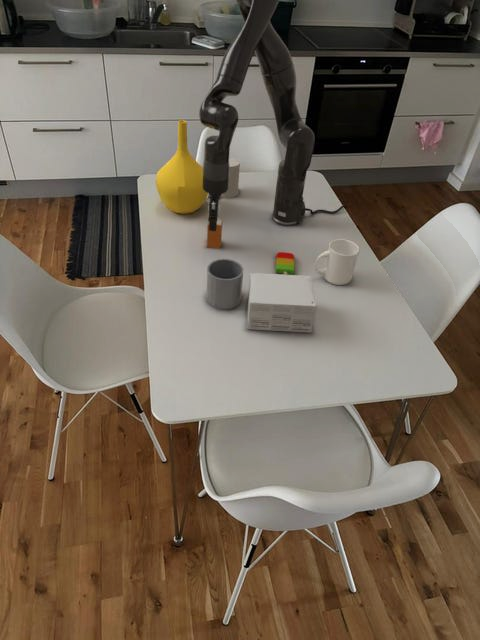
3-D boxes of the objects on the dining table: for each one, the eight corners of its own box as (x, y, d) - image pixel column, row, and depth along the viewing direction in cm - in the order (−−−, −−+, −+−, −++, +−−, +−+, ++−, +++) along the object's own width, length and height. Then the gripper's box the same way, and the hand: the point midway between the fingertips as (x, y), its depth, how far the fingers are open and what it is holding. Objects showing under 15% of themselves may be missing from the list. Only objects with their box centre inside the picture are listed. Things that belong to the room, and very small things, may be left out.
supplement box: (307, 302, 142) (312, 275, 135) (311, 333, 132) (317, 306, 125) (247, 298, 141) (249, 271, 135) (247, 329, 131) (249, 302, 125)
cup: (237, 198, 185) (239, 167, 177) (215, 196, 184) (216, 165, 177) (238, 188, 191) (240, 157, 183) (216, 186, 191) (217, 156, 183)
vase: (219, 206, 179) (223, 121, 160) (186, 226, 168) (185, 137, 148) (180, 189, 187) (179, 107, 167) (146, 207, 175) (140, 121, 156)
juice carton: (221, 242, 162) (222, 219, 156) (220, 248, 159) (221, 225, 154) (207, 241, 162) (208, 218, 156) (206, 247, 159) (207, 224, 154)
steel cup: (241, 288, 144) (243, 259, 138) (240, 310, 137) (243, 281, 130) (207, 286, 144) (208, 257, 137) (205, 308, 137) (206, 278, 130)
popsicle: (293, 257, 158) (294, 252, 157) (294, 286, 147) (295, 281, 145) (276, 256, 158) (276, 251, 157) (275, 284, 147) (276, 279, 145)
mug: (308, 269, 154) (314, 239, 146) (346, 268, 155) (353, 238, 148) (315, 286, 147) (322, 256, 140) (354, 285, 149) (363, 255, 142)
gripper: (227, 186, 140) (224, 236, 150) (229, 164, 151) (226, 212, 161) (200, 184, 140) (199, 234, 150) (204, 162, 150) (203, 211, 161)
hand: (213, 223), depth 156 cm, fingers open, 8 cm apart
